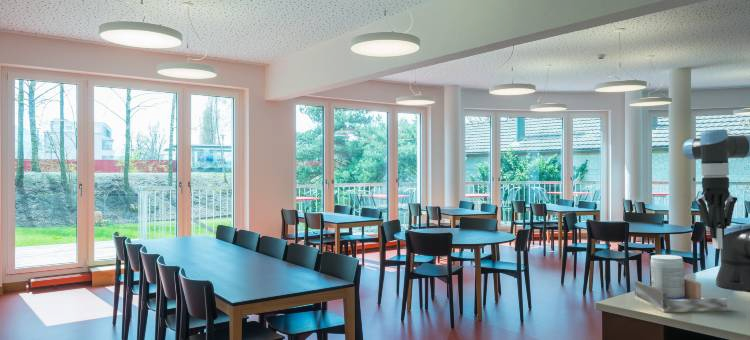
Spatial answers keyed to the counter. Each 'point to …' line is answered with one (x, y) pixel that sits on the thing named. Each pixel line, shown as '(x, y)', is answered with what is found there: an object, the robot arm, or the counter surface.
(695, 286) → the plate
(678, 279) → the supplement tub
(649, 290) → the grey tray
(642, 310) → the counter surface
